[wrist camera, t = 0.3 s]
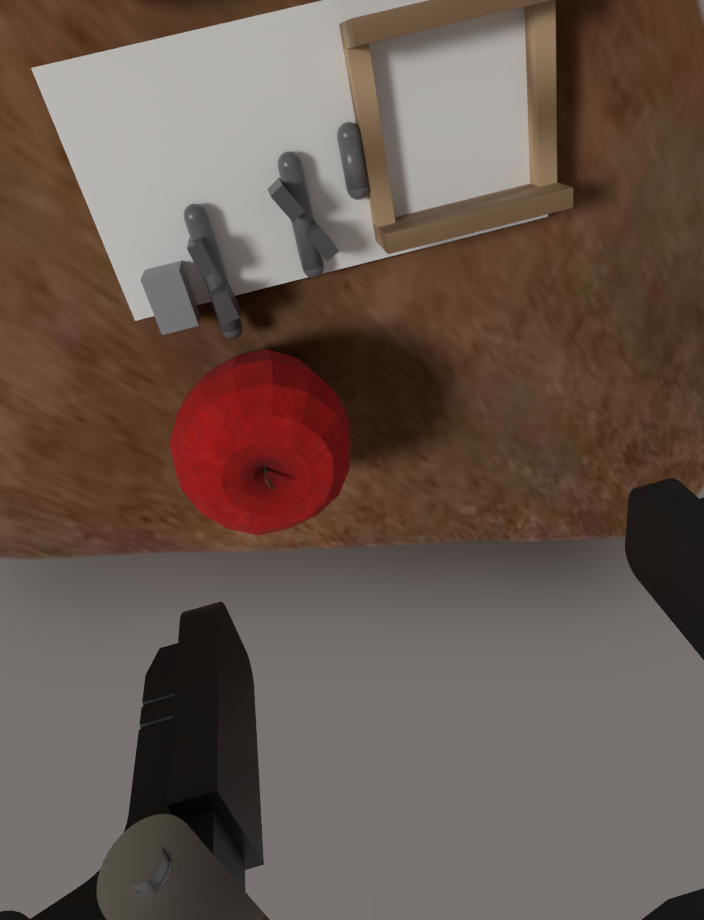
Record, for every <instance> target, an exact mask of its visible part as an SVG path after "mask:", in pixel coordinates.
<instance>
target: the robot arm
mask: <svg viewBox="0 0 704 920" xmlns="http://www.w3.org/2000/svg"><path fill="white" fill-rule="evenodd" d="M625 552H626V556H627V560H628V562H629V565H630V567H631V569H632V571H633V573H634V575H635V576H636V577H637V579H638V580H639V581H640V583H641V584H642V585H643V586H644V587H645V589H646V590H647V591H648V592H649V594H650V595H651V596H652V597H653V599H654V600H655V601H656V602H657V603H658V605H659V606H660V607H661V608H662V609H663V611H664V612H665V613H666V614H667V616H668V617H669V618H670V619H671V621H672V622H673V623H674V624H675V625H676V627H677V628H678V629H679V630H680V632H681V633H682V634H683V635H684V637H685V638H686V639H687V640H688V641H689V643H690V644H691V645H692V646H693V648H694V649H695V650H696V651H697V652H698V654H699V655H700V656H701V657H702V659H703V660H704V498H701V499H699V498H698V497H696V496H695V495H694V494H693V493H692V492H691V491H690V490H689V489H688V488H686V487H685V486H684V485H683V484H682V483H681V482H680V481H678V480H676V479H673V478H669V479H666V480H662V481H659V482H655V483H651V484H648V485H644V486H641V487H637V488H634V489H632V490H631V492H630V494H629V500H628V513H627V526H626V540H625ZM140 727H141V729H140V730H139V734H138V743H137V751H136V758H135V766H134V775H133V783H132V791H131V800H130V807H129V815H128V820H127V824H126V827H125V831H124V833H123V834H122V835H121V836H120V837H119V838H118V839H117V840H116V842H115V843H114V844H113V846H112V847H111V849H110V850H109V852H108V853H107V855H106V857H105V859H104V861H103V864H102V866H101V869H100V870H99V871H98V872H97V873H96V874H95V875H94V876H93V877H92V878H90V879H89V880H88V881H87V882H85V883H84V884H83V885H81V886H80V887H78V888H77V889H75V890H74V891H72V892H71V893H69V894H68V895H66V896H65V897H63V898H61V899H60V900H59V901H57V902H55V903H54V904H52V905H51V906H49V907H48V908H47V909H45V910H43V911H42V912H40V913H39V914H37V915H36V916H34V917H33V918H31V919H29V918H28V917H27V916H25V915H24V914H22V913H20V912H16V911H2V912H0V920H269V919H268V917H267V916H266V915H265V914H264V913H263V912H262V911H261V909H260V908H259V907H258V906H257V905H256V904H255V902H254V901H253V900H252V899H251V898H250V897H249V895H248V894H247V893H246V892H245V870H246V869H250V868H253V867H257V866H260V865H263V864H264V862H263V843H262V824H261V807H260V788H259V769H258V754H257V753H258V751H257V733H256V715H255V696H254V682H253V674H252V669H251V665H250V661H249V658H248V655H247V652H246V650H245V648H244V645H243V643H242V641H241V639H240V637H239V635H238V632H237V630H236V628H235V626H234V624H233V622H232V619H231V617H230V615H229V613H228V611H227V609H226V607H225V605H224V603H222V602H218V603H214V604H211V605H207V606H203V607H200V608H196V609H193V610H189V611H185V612H183V613H182V614H181V617H180V626H179V641H178V643H177V644H173V645H170V646H167V647H163V648H160V649H159V651H158V653H157V655H156V657H155V658H154V660H153V662H152V664H151V666H150V668H149V670H148V672H147V673H146V677H145V685H144V694H143V707H142V710H141V718H140ZM642 920H704V889H701V890H697V891H695V892H691V893H688V894H684V895H681V896H678V897H675V898H671V899H668V900H667V901H666V902H664V903H663V904H662V905H660V906H659V907H658V908H656V909H655V910H654V911H653V912H651V913H650V914H649V915H647V916H646V917H645V918H643V919H642Z"/></svg>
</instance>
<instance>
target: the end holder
mask: <svg viewBox="0 0 704 920" xmlns="http://www.w3.org/2000/svg"><path fill="white" fill-rule="evenodd" d="M521 7H524V9H525V40H526V72H527V104H528V136H529V168H530V184H527V185H523V186H519V187H515V188H511V189H507V190H503V191H499V192H495V193H491V194H487V195H483V196H479V197H475V198H471V199H467V200H463V201H459V202H455V203H451V204H446V205H442V206H438V207H434V208H430V209H426V210H422V211H418V212H414V213H410V214H406V215H402V216H398V217H395V215H394V209H393V202H392V195H391V189H390V182H389V175H388V169H387V162H386V155H385V149H384V142H383V135H382V128H381V122H380V115H379V108H378V102H377V95H376V88H375V82H374V75H373V68H372V62H371V55H370V48H369V43H373V42H377V41H381V40H386V39H390V38H394V37H398V36H403V35H407V34H411V33H415V32H420V31H424V30H428V29H432V28H437V27H441V26H445V25H449V24H453V23H458V22H462V21H466V20H470V19H475V18H479V17H483V16H487V15H492V14H496V13H500V12H504V11H509V10H513V9H517V8H521ZM339 27H340V32H341V38H342V44H343V50H344V56H345V62H346V68H347V74H348V80H349V86H350V91H351V97H352V103H353V109H354V115H355V121H356V125H357V126H358V127H359V129H360V133H361V139H362V145H363V151H364V157H365V163H366V169H367V175H368V181H369V193H368V198H369V204H370V210H371V215H372V221H373V227H374V233H375V239H376V242H377V243H378V244H379V245H380V246H381V247H382V248H383V249H384V251H385V252H386V253H387V254H391V253H395V252H399V251H403V250H407V249H411V248H415V247H419V246H423V245H427V244H431V243H435V242H439V241H443V240H447V239H451V238H455V237H459V236H463V235H467V234H471V233H475V232H479V231H483V230H487V229H491V228H494V227H498V226H502V225H506V224H510V223H514V222H518V221H522V220H526V219H530V218H534V217H538V216H542V215H546V214H550V213H554V212H558V211H562V210H566V209H570V208H573V187H570V186H567V185H564V184H561V183H557V105H556V0H428V1H424V2H419V3H415V4H411V5H406V6H402V7H398V8H394V9H389V10H385V11H381V12H377V13H372V14H368V15H364V16H359V17H355V18H351V19H349V20H346V21H344V22H342V23H340V24H339Z"/></svg>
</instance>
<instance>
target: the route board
mask: <svg viewBox="0 0 704 920" xmlns="http://www.w3.org/2000/svg"><path fill="white" fill-rule="evenodd" d="M424 1H428V0H322V1H318V2H314V3H309V4H305V5H301V6H296V7H292V8H288V9H284V10H279V11H275V12H271V13H266V14H262V15H258V16H253V17H249V18H245V19H240V20H236V21H232V22H228V23H223V24H219V25H215V26H210V27H206V28H202V29H197V30H193V31H189V32H184V33H180V34H176V35H172V36H167V37H163V38H159V39H154V40H150V41H146V42H141V43H137V44H133V45H128V46H124V47H120V48H116V49H111V50H107V51H103V52H98V53H94V54H90V55H85V56H81V57H77V58H73V59H68V60H64V61H60V62H55V63H51V64H47V65H42V66H38V67H34V68H31V69H32V71H33V74H34V76H35V79H36V81H37V84H38V86H39V88H40V91H41V93H42V96H43V98H44V101H45V103H46V105H47V108H48V110H49V113H50V115H51V118H52V120H53V122H54V125H55V127H56V130H57V132H58V135H59V137H60V139H61V142H62V144H63V147H64V149H65V152H66V154H67V156H68V159H69V161H70V164H71V166H72V169H73V171H74V173H75V176H76V178H77V181H78V183H79V186H80V188H81V190H82V193H83V195H84V198H85V200H86V203H87V205H88V207H89V210H90V212H91V215H92V217H93V220H94V222H95V224H96V227H97V229H98V232H99V234H100V237H101V239H102V241H103V244H104V246H105V249H106V251H107V254H108V256H109V258H110V261H111V263H112V266H113V268H114V271H115V273H116V275H117V278H118V280H119V283H120V285H121V288H122V290H123V292H124V295H125V297H126V300H127V302H128V305H129V307H130V309H131V312H132V314H133V317H134V319H135V321H137V320H141V319H145V318H148V317H152V316H155V319H156V321H157V324H158V326H159V329H160V331H161V334H162V335H164V334H168V333H172V332H176V331H180V330H184V329H188V328H192V327H196V326H199V318H200V313H199V310H198V307H197V305H200V304H204V303H208V302H212V305H213V308H214V311H215V314H216V317H217V320H218V323H219V326H220V329H221V331H222V334H223V335H224V336H225V337H227V338H229V339H235V338H237V337H239V336H240V335H241V333H242V324H241V320H240V315H239V303H238V301H237V299H236V297H235V296H236V295H240V294H244V293H248V292H252V291H255V290H259V289H263V288H267V287H271V286H275V285H279V284H283V283H287V282H291V281H295V280H299V279H303V278H307V277H310V278H316V277H319V276H320V275H321V274H323V273H327V272H331V271H335V270H339V269H343V268H347V267H351V266H355V265H359V264H363V263H366V262H370V261H374V260H378V259H382V258H386V257H390V256H394V255H398V254H402V253H406V252H410V251H414V250H418V249H422V248H426V247H430V246H434V245H438V244H442V243H446V242H450V241H454V240H458V239H462V238H466V237H470V236H473V235H477V234H481V233H485V232H489V231H493V230H497V229H501V228H505V227H509V226H513V225H517V224H521V223H525V222H529V221H533V220H537V219H541V218H545V217H548V214H546V215H542V216H538V217H534V218H530V219H526V220H522V221H518V222H514V223H510V224H506V225H502V226H498V227H494V228H491V229H487V230H483V231H479V232H475V233H471V234H467V235H463V236H459V237H455V238H451V239H447V240H443V241H439V242H435V243H431V244H427V245H423V246H419V247H415V248H411V249H407V250H403V251H399V252H395V253H391V254H387V253H386V252H385V251H384V249H383V248H382V247H381V246H380V245H379V244H378V243H377V242H376V239H375V233H374V227H373V221H372V215H371V210H370V204H369V198H368V193H369V181H368V175H367V169H366V163H365V157H364V151H363V145H362V139H361V133H360V129H359V127H358V126H357V125H356V121H355V115H354V109H353V103H352V97H351V91H350V86H349V80H348V74H347V68H346V62H345V56H344V50H343V44H342V38H341V32H340V27H339V24H340V23H342V22H344V21H346V20H349V19H351V18H355V17H359V16H364V15H368V14H372V13H377V12H381V11H385V10H389V9H394V8H398V7H402V6H406V5H411V4H415V3H419V2H424ZM369 48H370V55H371V62H372V68H373V75H374V82H375V88H376V95H377V102H378V108H379V115H380V122H381V128H382V135H383V142H384V149H385V155H386V162H387V169H388V175H389V182H390V189H391V195H392V202H393V209H394V215H395V217H398V216H402V215H406V214H410V213H414V212H418V211H422V210H426V209H430V208H434V207H438V206H442V205H446V204H451V203H455V202H459V201H463V200H467V199H471V198H475V197H479V196H483V195H487V194H491V193H495V192H499V191H503V190H507V189H511V188H515V187H519V186H523V185H527V184H530V168H529V136H528V104H527V72H526V40H525V9H524V7H521V8H517V9H513V10H509V11H504V12H500V13H496V14H492V15H487V16H483V17H479V18H475V19H470V20H466V21H462V22H458V23H453V24H449V25H445V26H441V27H437V28H432V29H428V30H424V31H420V32H415V33H411V34H407V35H403V36H398V37H394V38H390V39H386V40H381V41H377V42H373V43H369Z"/></svg>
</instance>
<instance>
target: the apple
mask: <svg viewBox="0 0 704 920" xmlns="http://www.w3.org/2000/svg"><path fill="white" fill-rule="evenodd" d="M170 448H171V452H172V457H173V461H174V466H175V470H176V475H177V478H178V480H179V483H180V486H181V488H182V491H183V492H184V493H185V494H186V496H187V497H188V498H189V499H190V500H191V502H192V503H193V504H194V505H195V507H196V508H197V509H198V510H199V511H200V513H202V514H203V515H205V516H207V517H208V518H210V519H212V520H213V521H215V522H217V523H218V524H220V525H222V526H223V527H225V528H227V529H230V530H235V531H240V532H245V533H250V534H255V535H262V534H266V533H271V532H275V531H280V530H285V529H289V528H292V527H294V526H296V525H298V524H300V523H302V522H304V521H306V520H308V519H310V518H312V517H314V516H316V515H318V514H319V513H320V512H321V511H322V510H323V509H324V508H326V507H327V506H328V505H329V504H330V503H331V502H332V501H333V500H334V499H335V498H336V497H337V496H338V495H339V494H340V491H341V489H342V486H343V483H344V481H345V478H346V476H347V473H348V471H349V462H350V421H349V419H348V417H347V415H346V413H345V410H344V408H343V406H342V404H341V402H340V400H339V398H338V395H337V393H336V392H335V391H334V390H333V389H332V388H331V387H330V386H329V385H328V384H326V383H325V382H324V381H323V380H322V379H321V378H320V377H319V376H318V375H317V374H316V373H314V372H313V371H312V370H311V369H310V368H309V367H308V366H306V365H305V364H304V363H303V362H302V361H301V360H300V359H297V358H295V357H292V356H289V355H286V354H283V353H279V352H275V351H272V350H268V349H267V350H261V351H256V352H251V353H245V354H240V355H237V356H235V357H233V358H231V359H230V360H228V361H226V362H224V363H222V364H220V365H218V366H217V367H215V368H214V369H212V370H210V371H209V372H207V373H206V374H205V375H204V377H203V378H202V379H201V380H200V381H199V382H198V383H197V384H196V385H195V386H194V388H193V389H192V390H191V391H190V392H189V393H188V394H187V396H186V398H185V400H184V402H183V404H182V406H181V408H180V410H179V412H178V414H177V418H176V422H175V426H174V430H173V434H172V438H171V441H170Z"/></svg>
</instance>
